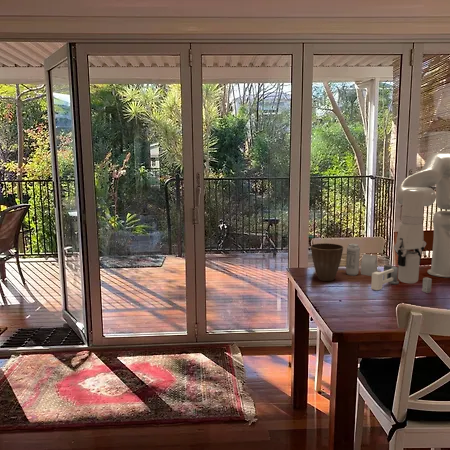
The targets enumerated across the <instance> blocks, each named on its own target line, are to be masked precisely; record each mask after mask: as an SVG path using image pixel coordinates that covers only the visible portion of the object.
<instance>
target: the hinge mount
mask: <svg viewBox="0 0 450 450" xmlns="http://www.w3.org/2000/svg"><path fill="white" fill-rule="evenodd" d="M391 267H395V266H394V265H392V264H384V265H383V271H386V270H389V269H391ZM388 278H391V273H388V274H387V279H388ZM383 280H384V275H383ZM388 284H390V285H399V284H400V280H397V281H390V282H388Z"/></svg>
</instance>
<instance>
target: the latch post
mask: <svg viewBox="0 0 450 450" xmlns="http://www.w3.org/2000/svg"><path fill="white" fill-rule="evenodd" d="M432 281H433V279H432V278H430V277H428V276H427V277H423V278H422V289H421V292H422V293H423V292H424V293H426V294H428V293H431V292H432Z"/></svg>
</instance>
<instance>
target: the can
mask: <svg viewBox="0 0 450 450" xmlns="http://www.w3.org/2000/svg"><path fill="white" fill-rule="evenodd" d="M402 252H403V250H402ZM405 257H406V261H405V266H404V267H403V266H399V265H398V274H397V280H398V281H399V282H401V283H405V284H416V283H417V282H418V281H419V276H420V275H419V274H420V264H421V262H420V256H419V255H418V252H415V251H414V250H407V252H406V254H405ZM419 263H420V264H419Z"/></svg>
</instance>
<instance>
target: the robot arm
mask: <svg viewBox="0 0 450 450" xmlns="http://www.w3.org/2000/svg"><path fill="white" fill-rule="evenodd" d="M434 186H436V187H435V190H434V189H433V188H431V187H434ZM396 200H397V203H398V204H400V205H402V207H401V208H402V210H401V223H400V224H399V227H398V230H397V236H396V241H395V242H396V243H395V244H394V245H393V249H394V251H395V253H396V255H397V265H398V267H399V266H403V267H404V266H405V261H406V257H405V254H406V252H407V251H415V252H418V255H419V256H420V263H419V265H420V264H421V258H422V255H423V251H424V250H425V247H426V245H427V242H426V241H425V240H424V237H425V236H424V225H423V221H424V207H430V206H432V205H434V203H436V207H437V208H438V209H441V210H439V211H436V212H435V213H434V214H433V217H432V225H433V226H432V227H433V241H432V253H431V255H432V256H431V265H430V266H431V268H430V269H427V274H429V275H431V276H433V277H439V278H450V152H435V153H431V154H430V155H428V156H427V159H426V160H425V163H424V164H423V166H422V168H421V169H420V170H419V171H417V172H415V173H413V174H411V175H409V176H407V177H406V178H405V179H403V180H402V182H401V183H400V186H399V187H398V190H397V192H396ZM402 251H403V252H402Z"/></svg>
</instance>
